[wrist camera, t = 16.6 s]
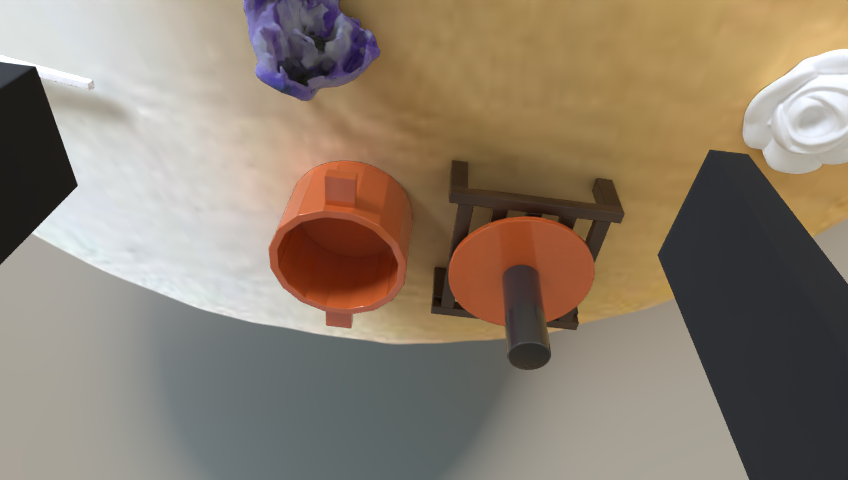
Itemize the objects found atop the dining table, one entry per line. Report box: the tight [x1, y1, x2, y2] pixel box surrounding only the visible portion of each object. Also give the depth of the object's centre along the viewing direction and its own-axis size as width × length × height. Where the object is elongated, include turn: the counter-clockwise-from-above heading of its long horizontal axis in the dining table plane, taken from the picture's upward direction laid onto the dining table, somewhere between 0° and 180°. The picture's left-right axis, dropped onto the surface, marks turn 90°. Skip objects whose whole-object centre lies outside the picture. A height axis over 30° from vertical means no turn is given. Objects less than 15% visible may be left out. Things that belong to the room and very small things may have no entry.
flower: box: [244, 0, 380, 101], centre depth 39 cm, size 9×9×10 cm
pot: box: [269, 161, 413, 328], centre depth 49 cm, size 11×17×8 cm
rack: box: [431, 161, 625, 330], centre depth 50 cm, size 14×14×5 cm
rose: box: [743, 49, 848, 174], centre depth 41 cm, size 10×4×10 cm
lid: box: [448, 216, 595, 370], centre depth 45 cm, size 12×12×10 cm
